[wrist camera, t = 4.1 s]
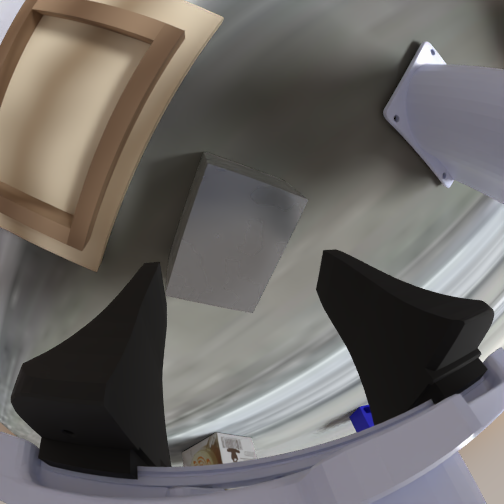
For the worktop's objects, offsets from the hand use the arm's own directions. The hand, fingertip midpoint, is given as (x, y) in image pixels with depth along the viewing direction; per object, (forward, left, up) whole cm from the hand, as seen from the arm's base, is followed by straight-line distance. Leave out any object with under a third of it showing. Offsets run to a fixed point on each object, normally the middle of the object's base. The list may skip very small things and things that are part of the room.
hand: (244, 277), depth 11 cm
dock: (+12, -2, -6) cm, 14 cm away
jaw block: (0, 0, -7) cm, 7 cm away
